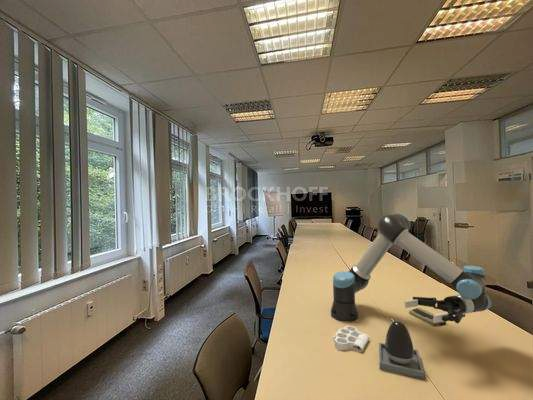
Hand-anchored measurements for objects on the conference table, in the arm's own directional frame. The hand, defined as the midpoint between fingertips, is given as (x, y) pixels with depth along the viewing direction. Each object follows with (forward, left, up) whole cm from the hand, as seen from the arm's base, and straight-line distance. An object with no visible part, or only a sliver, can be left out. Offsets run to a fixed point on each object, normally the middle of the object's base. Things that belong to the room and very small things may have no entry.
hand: (418, 311), depth 101 cm
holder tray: (-8, -6, -19) cm, 22 cm away
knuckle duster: (-28, +2, -20) cm, 34 cm away
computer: (+9, +41, -20) cm, 46 cm away
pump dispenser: (-8, -6, -18) cm, 21 cm away
